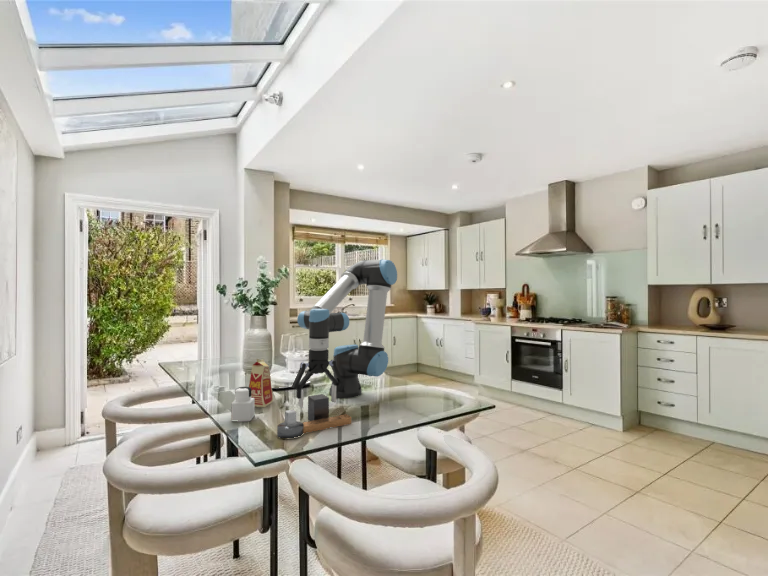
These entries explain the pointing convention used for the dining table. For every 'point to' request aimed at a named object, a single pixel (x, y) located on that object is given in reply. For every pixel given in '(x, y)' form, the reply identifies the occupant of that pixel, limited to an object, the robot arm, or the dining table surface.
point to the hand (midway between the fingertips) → (317, 404)
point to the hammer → (308, 424)
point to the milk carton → (261, 384)
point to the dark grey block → (318, 407)
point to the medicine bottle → (242, 405)
